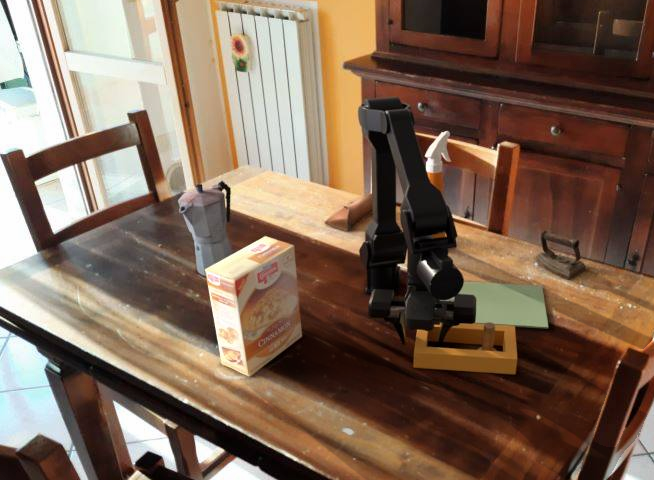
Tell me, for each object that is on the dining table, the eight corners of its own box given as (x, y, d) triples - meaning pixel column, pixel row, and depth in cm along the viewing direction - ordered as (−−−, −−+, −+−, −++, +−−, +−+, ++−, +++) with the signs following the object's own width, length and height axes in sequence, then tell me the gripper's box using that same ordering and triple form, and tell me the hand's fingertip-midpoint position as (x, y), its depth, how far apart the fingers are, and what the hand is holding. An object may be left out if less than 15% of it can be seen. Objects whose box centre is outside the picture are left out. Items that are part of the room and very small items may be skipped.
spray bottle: (458, 239, 159) (465, 131, 144) (436, 256, 152) (441, 144, 137) (433, 232, 162) (437, 125, 148) (410, 248, 155) (412, 138, 140)
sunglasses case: (358, 198, 178) (368, 180, 173) (378, 215, 178) (389, 197, 173) (322, 223, 165) (332, 204, 160) (343, 241, 165) (354, 223, 160)
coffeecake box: (249, 377, 114) (234, 280, 103) (220, 364, 117) (202, 268, 106) (304, 336, 124) (295, 244, 113) (275, 325, 127) (264, 234, 116)
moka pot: (178, 278, 142) (159, 191, 131) (219, 248, 154) (206, 166, 143) (215, 286, 139) (199, 199, 128) (254, 255, 151) (243, 172, 140)
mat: (425, 321, 129) (425, 319, 129) (430, 281, 142) (430, 279, 142) (548, 328, 127) (548, 327, 127) (541, 287, 140) (542, 285, 140)
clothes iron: (572, 282, 143) (567, 241, 138) (528, 276, 150) (522, 236, 146) (588, 268, 147) (584, 227, 142) (545, 263, 154) (539, 223, 150)
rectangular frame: (413, 367, 116) (413, 352, 114) (418, 334, 125) (418, 319, 123) (515, 374, 115) (517, 359, 113) (513, 340, 124) (514, 325, 122)
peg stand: (475, 361, 118) (478, 330, 114) (475, 348, 122) (478, 318, 118) (497, 362, 118) (501, 332, 114) (497, 349, 121) (500, 319, 117)
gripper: (362, 291, 105) (364, 368, 114) (478, 298, 104) (472, 375, 113) (372, 259, 114) (373, 332, 123) (478, 264, 113) (472, 338, 122)
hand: (421, 345), depth 120 cm, fingers open, 6 cm apart
